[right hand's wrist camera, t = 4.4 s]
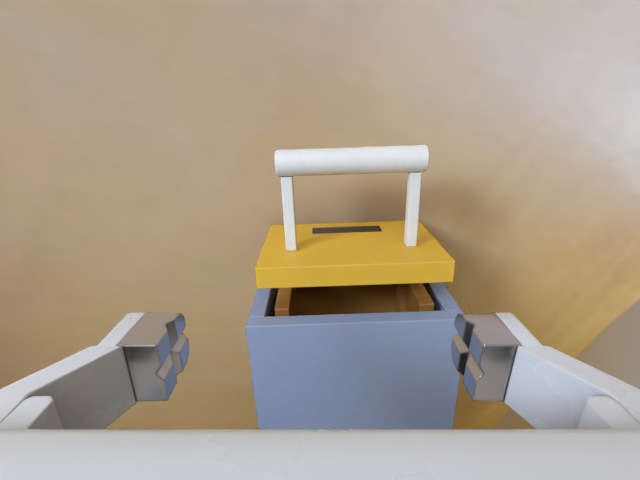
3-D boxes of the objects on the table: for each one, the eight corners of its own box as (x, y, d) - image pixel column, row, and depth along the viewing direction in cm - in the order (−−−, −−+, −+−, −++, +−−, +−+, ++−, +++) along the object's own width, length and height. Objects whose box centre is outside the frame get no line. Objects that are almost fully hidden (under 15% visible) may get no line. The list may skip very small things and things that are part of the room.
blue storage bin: (266, 257, 26) (244, 326, 18) (421, 251, 26) (469, 318, 18) (282, 422, 32) (271, 531, 24) (407, 418, 32) (439, 525, 24)
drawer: (263, 142, 22) (242, 157, 16) (425, 136, 22) (469, 149, 16) (285, 396, 29) (277, 476, 23) (406, 392, 29) (430, 471, 23)
